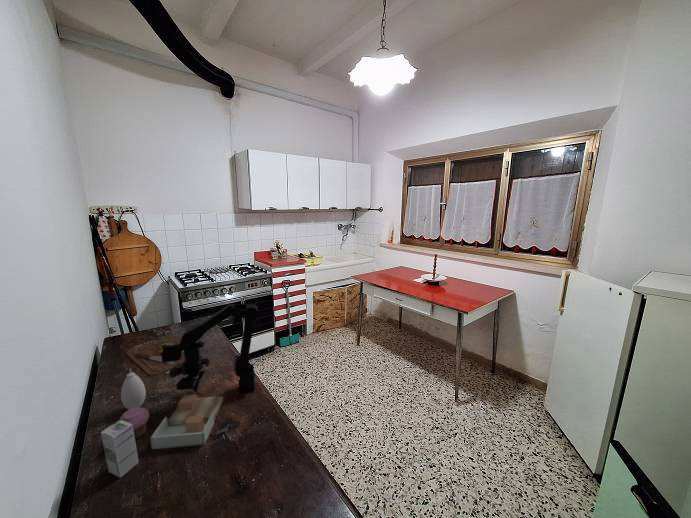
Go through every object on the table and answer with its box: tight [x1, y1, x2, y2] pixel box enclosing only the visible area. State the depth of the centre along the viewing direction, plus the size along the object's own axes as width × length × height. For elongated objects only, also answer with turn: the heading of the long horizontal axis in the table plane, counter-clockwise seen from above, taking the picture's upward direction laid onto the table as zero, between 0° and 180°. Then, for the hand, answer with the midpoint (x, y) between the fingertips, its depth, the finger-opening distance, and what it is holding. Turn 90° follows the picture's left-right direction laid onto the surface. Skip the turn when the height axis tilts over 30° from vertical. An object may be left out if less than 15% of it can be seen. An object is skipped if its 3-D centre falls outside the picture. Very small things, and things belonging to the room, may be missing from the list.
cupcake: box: [118, 407, 150, 440], centre depth 96 cm, size 9×9×10 cm
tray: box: [149, 413, 215, 451], centre depth 97 cm, size 17×10×4 cm, turn 97°
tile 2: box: [185, 416, 204, 433], centre depth 98 cm, size 5×5×3 cm
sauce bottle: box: [120, 368, 147, 410], centre depth 109 cm, size 8×8×18 cm
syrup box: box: [100, 420, 139, 478], centre depth 84 cm, size 6×6×14 cm
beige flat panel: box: [167, 395, 224, 426], centre depth 108 cm, size 16×12×2 cm
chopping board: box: [125, 335, 205, 377], centre depth 153 cm, size 45×27×3 cm, turn 54°
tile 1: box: [177, 394, 198, 411], centre depth 108 cm, size 5×5×3 cm
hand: (195, 391), depth 116 cm, fingers closed
